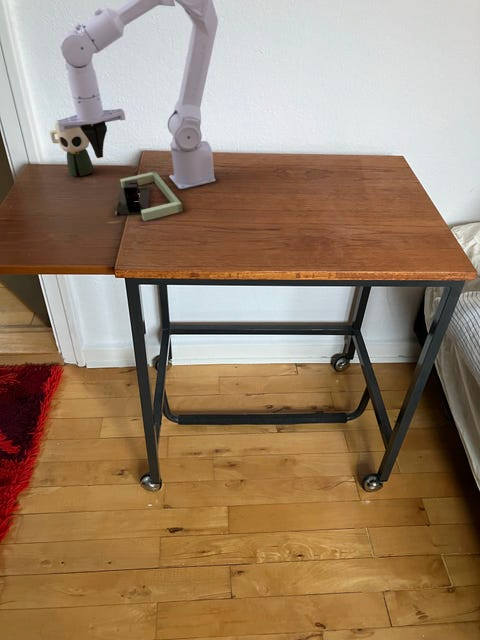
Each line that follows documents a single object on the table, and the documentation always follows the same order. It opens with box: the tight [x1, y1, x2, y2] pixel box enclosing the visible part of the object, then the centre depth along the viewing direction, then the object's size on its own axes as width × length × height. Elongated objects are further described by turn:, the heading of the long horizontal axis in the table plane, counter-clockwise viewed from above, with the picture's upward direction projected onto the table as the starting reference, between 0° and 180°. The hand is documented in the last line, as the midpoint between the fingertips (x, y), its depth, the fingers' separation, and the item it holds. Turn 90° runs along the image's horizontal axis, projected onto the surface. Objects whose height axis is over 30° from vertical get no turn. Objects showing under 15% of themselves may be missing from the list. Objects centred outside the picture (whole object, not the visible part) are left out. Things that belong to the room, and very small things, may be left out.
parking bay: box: [119, 171, 183, 222], centre depth 125 cm, size 9×19×2 cm, turn 25°
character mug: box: [49, 121, 94, 177], centre depth 134 cm, size 11×7×13 cm, turn 90°
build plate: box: [114, 180, 151, 217], centre depth 123 cm, size 12×7×5 cm, turn 4°
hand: (99, 156), depth 122 cm, fingers closed
